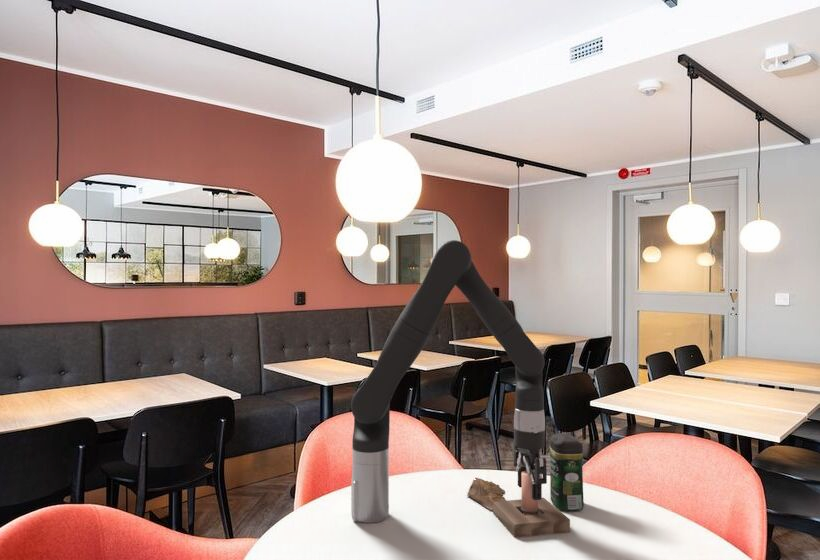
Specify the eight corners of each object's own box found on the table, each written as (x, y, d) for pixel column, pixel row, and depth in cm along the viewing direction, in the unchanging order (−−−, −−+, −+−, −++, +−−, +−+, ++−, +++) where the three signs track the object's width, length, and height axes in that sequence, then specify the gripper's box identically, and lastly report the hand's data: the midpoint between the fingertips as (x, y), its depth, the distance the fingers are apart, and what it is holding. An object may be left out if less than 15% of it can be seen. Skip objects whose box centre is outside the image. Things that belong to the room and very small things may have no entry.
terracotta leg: (525, 526, 131) (525, 476, 132) (518, 519, 136) (518, 471, 136) (541, 525, 132) (541, 475, 133) (534, 518, 136) (534, 470, 137)
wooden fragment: (513, 512, 141) (513, 508, 141) (471, 512, 141) (471, 508, 141) (497, 479, 166) (497, 475, 166) (461, 479, 166) (461, 475, 166)
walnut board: (514, 537, 126) (514, 524, 126) (493, 513, 139) (493, 501, 139) (570, 532, 129) (569, 519, 129) (543, 509, 142) (543, 497, 142)
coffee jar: (547, 498, 149) (546, 430, 150) (575, 498, 149) (575, 430, 150) (556, 513, 140) (556, 440, 140) (587, 512, 140) (586, 440, 140)
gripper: (504, 420, 141) (504, 484, 140) (527, 435, 127) (526, 505, 126) (531, 419, 142) (531, 482, 142) (556, 433, 128) (556, 502, 128)
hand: (529, 492), depth 134 cm, fingers open, 8 cm apart
